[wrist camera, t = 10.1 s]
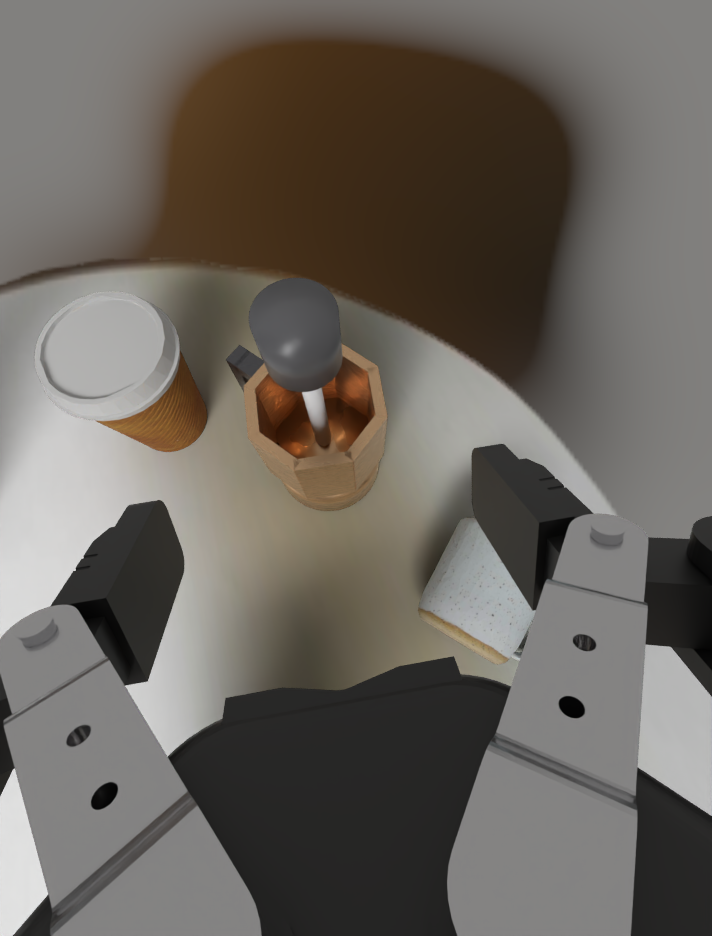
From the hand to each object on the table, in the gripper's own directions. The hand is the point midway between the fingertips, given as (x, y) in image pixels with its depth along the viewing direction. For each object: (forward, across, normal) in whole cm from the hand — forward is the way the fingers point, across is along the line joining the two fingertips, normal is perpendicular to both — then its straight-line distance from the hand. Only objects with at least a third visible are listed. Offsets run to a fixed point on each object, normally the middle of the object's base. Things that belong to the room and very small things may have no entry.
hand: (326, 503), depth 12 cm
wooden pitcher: (+26, -1, -11) cm, 29 cm away
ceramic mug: (+16, +11, -21) cm, 29 cm away
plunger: (+22, 0, -8) cm, 23 cm away
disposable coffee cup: (+31, -13, -7) cm, 34 cm away
